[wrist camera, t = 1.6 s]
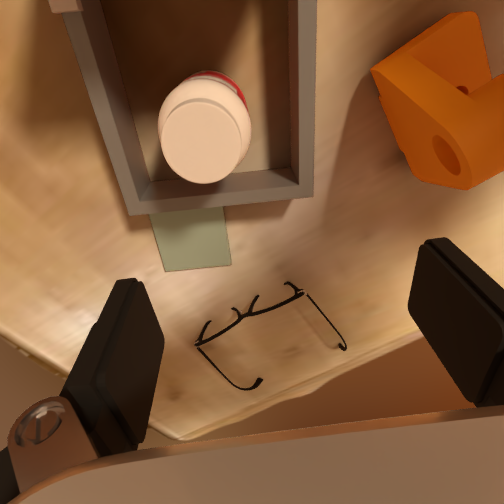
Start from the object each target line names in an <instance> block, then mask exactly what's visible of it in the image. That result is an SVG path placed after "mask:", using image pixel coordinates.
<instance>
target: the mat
mask: <svg viewBox="0 0 504 504" xmlns="http://www.w3.org/2000/svg"><path fill="white" fill-rule="evenodd" d="M149 218H150V221H151V224H152V228H153V231H154V234H155V238H156V241H157V244H158V248H159V251H160V254H161V258H162V261H163V264H164V268H165V271H176V270H185V269H195V268H205V267H215V266H225V265H231V256H230V250H229V243H228V236H227V230H226V223H225V217H224V210H223V206H221V207H211V208H201V209H192V210H182V211H172V212H163V213H153V214H149Z"/></svg>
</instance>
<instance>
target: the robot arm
mask: <svg viewBox="0 0 504 504" xmlns="http://www.w3.org/2000/svg"><path fill="white" fill-rule="evenodd" d="M408 311H409V313H410V315H411V317H412V318H413V320H414V321H415V323H416V324H417V326H418V327H419V329H420V330H421V332H422V333H423V335H424V336H425V338H426V339H427V341H428V343H429V344H430V345H431V347H432V349H433V350H434V351H435V353H436V354H437V356H438V358H439V359H440V361H441V362H442V364H443V365H444V367H445V368H446V370H447V371H448V373H449V374H450V376H451V377H452V379H453V380H454V382H455V383H456V385H457V386H458V388H459V389H460V391H461V392H462V394H463V395H464V397H465V398H466V399H467V400H468V401H469V402H473V403H474V404H475V406H476V407H477V408H469V409H460V410H451V411H443V412H434V413H426V414H417V415H409V416H401V417H392V418H383V419H375V420H367V421H359V422H350V423H342V424H334V425H326V426H318V427H310V428H303V429H293V430H285V431H277V432H270V433H262V434H254V435H246V436H238V437H230V438H223V439H215V440H207V441H199V442H191V443H184V444H178V445H170V446H164V447H157V448H150V449H143V450H137V448H138V444H139V443H142V442H143V441H144V439H145V435H146V429H147V425H148V421H149V416H150V411H151V406H152V402H153V397H154V392H155V387H156V383H157V378H158V373H159V369H160V364H161V359H162V354H163V350H164V335H163V333H162V330H161V327H160V325H159V322H158V320H157V317H156V315H155V312H154V309H153V307H152V304H151V302H150V299H149V297H148V294H147V291H146V289H145V286H144V284H143V282H142V281H139V282H138V281H137V279H136V278H128V279H121V280H117V281H116V282H115V285H114V287H113V289H112V291H111V293H110V295H109V297H108V299H107V302H106V304H105V306H104V308H103V310H102V312H101V314H100V317H99V319H98V321H97V322H96V323H95V324H94V325H93V326H92V328H91V330H90V332H89V334H88V336H87V338H86V341H85V343H84V345H83V347H82V349H81V351H80V353H79V355H78V357H77V359H76V361H75V364H74V366H73V368H72V370H71V372H70V374H69V376H68V378H67V380H66V382H65V385H64V387H63V389H62V391H61V393H60V395H59V396H52V397H48V398H45V399H42V400H40V401H38V402H36V403H34V404H33V405H32V406H30V407H29V408H28V409H26V410H25V411H24V412H23V413H22V414H21V415H20V416H19V417H18V418H17V419H16V421H15V422H14V424H13V425H12V427H11V429H10V431H9V434H8V437H7V447H6V448H4V449H3V450H2V451H0V504H504V289H503V288H502V287H501V286H500V285H499V284H498V283H497V282H495V281H494V280H493V279H492V278H491V277H490V276H489V275H488V274H487V273H486V272H484V271H483V270H482V269H481V268H480V267H479V266H478V265H477V264H476V263H474V262H473V261H472V260H471V259H470V258H469V257H468V256H467V255H466V254H465V253H463V252H462V251H461V250H460V249H459V248H458V247H457V246H456V245H455V244H453V243H452V242H451V241H450V240H449V239H448V238H445V237H443V238H435V239H428V240H426V241H425V242H424V244H423V245H421V246H420V247H419V251H418V256H417V261H416V266H415V271H414V276H413V281H412V286H411V291H410V296H409V300H408Z"/></svg>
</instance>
